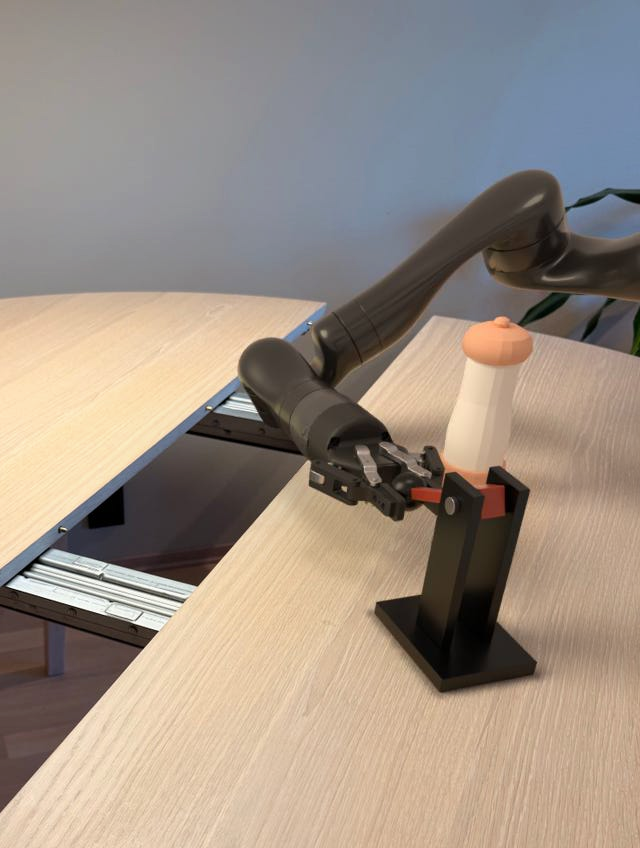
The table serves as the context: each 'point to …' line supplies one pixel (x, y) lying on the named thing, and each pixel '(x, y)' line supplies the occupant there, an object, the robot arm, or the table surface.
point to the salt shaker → (485, 399)
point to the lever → (418, 492)
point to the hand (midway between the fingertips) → (421, 508)
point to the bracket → (464, 591)
